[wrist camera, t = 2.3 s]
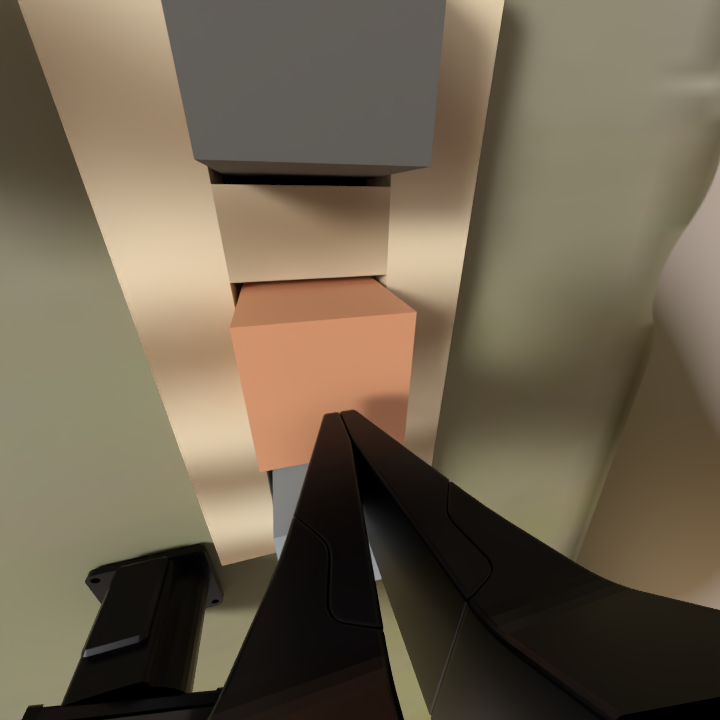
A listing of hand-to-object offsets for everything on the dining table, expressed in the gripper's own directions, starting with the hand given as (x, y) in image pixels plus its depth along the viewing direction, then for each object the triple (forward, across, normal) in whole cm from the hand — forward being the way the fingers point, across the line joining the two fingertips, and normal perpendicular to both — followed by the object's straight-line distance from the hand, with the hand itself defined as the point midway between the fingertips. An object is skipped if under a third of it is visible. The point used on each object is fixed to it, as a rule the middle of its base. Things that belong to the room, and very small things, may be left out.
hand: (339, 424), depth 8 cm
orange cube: (+6, 0, 0) cm, 6 cm away
